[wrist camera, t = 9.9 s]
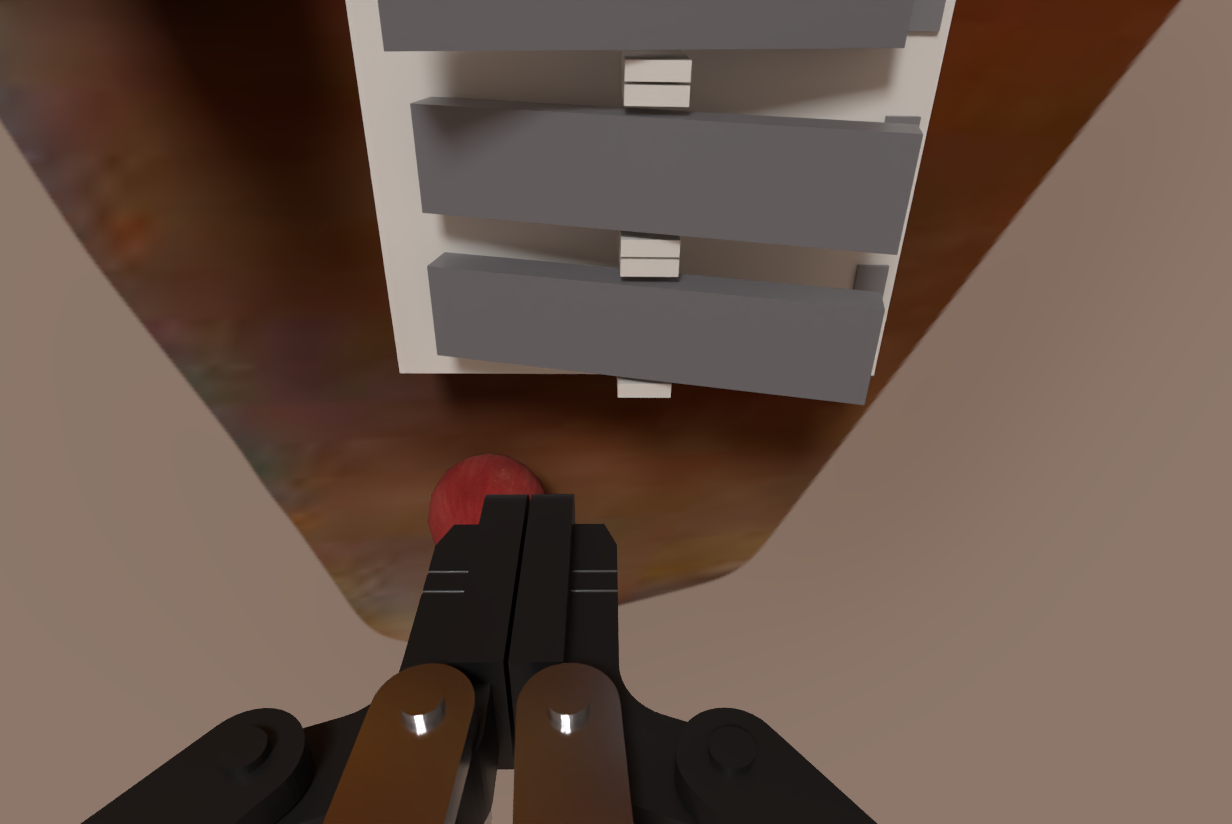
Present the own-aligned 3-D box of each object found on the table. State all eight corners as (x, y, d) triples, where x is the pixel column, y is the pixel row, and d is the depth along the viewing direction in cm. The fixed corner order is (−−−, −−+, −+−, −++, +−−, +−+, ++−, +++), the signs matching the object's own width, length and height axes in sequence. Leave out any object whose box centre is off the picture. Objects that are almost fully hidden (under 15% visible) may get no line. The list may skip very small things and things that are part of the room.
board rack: (365, -146, 27) (279, -187, 19) (926, -132, 27) (1045, -166, 20) (423, 323, 36) (379, 415, 29) (840, 326, 36) (901, 416, 29)
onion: (573, 458, 40) (568, 561, 33) (516, 529, 42) (501, 638, 35) (477, 405, 38) (451, 502, 31) (423, 481, 40) (388, 588, 34)
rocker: (431, 96, 26) (409, 103, 25) (917, 124, 23) (923, 133, 22) (441, 200, 28) (422, 212, 26) (893, 239, 25) (897, 255, 23)
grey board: (444, 252, 29) (426, 265, 27) (880, 292, 26) (884, 309, 25) (453, 338, 31) (437, 355, 29) (861, 383, 28) (864, 405, 26)
